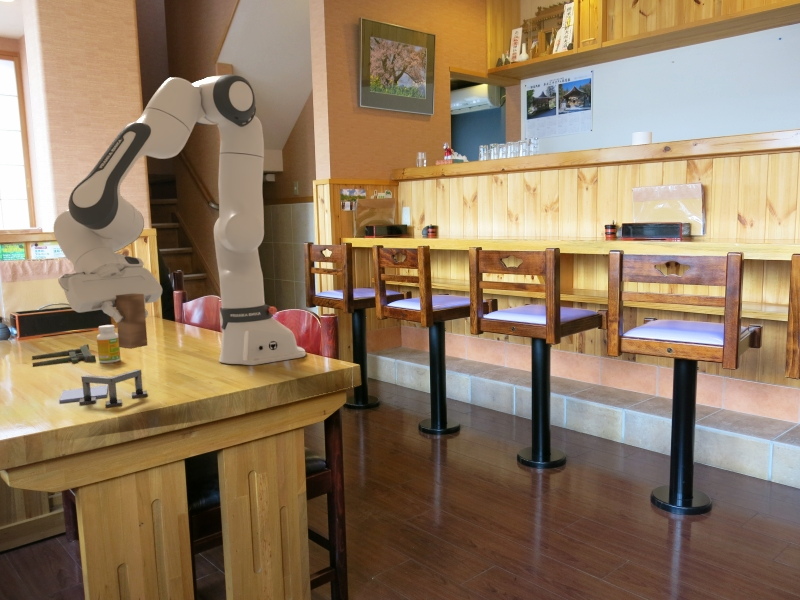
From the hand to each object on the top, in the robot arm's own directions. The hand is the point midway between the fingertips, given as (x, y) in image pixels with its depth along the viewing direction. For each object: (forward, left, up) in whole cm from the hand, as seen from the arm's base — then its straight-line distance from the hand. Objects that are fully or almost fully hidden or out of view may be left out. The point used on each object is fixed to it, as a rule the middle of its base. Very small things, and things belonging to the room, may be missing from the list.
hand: (133, 318), depth 138 cm
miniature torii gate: (+19, -56, -18) cm, 62 cm away
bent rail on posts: (+5, +2, -17) cm, 17 cm away
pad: (+11, -7, -17) cm, 21 cm away
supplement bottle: (+7, -45, -17) cm, 48 cm away
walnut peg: (0, -1, -6) cm, 6 cm away
